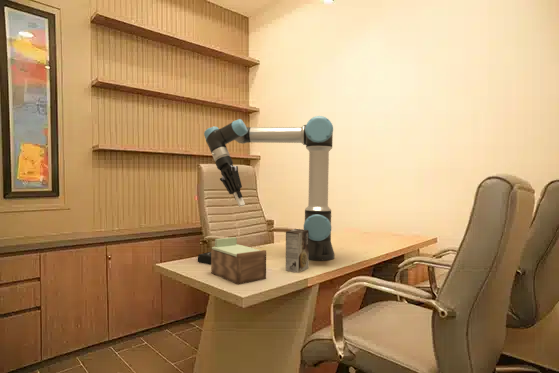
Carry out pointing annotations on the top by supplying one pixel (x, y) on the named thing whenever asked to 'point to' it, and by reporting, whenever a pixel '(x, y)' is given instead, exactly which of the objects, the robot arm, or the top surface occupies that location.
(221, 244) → the lid
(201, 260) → the portable cd player
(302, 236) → the coffee box
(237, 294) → the top surface
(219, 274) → the box
